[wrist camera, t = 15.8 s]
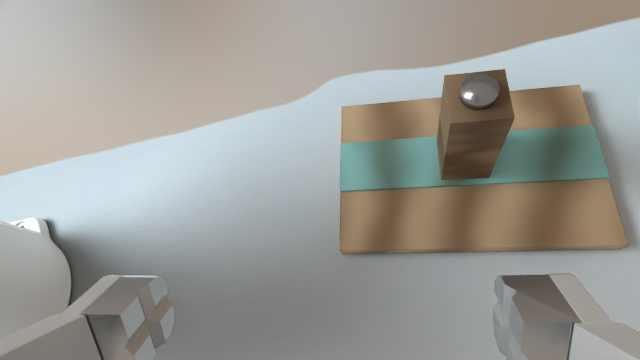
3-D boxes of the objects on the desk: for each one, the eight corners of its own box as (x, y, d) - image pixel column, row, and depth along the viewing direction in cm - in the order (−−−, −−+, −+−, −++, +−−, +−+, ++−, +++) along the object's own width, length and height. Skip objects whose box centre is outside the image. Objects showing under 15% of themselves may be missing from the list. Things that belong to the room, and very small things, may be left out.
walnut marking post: (440, 180, 34) (451, 116, 25) (436, 140, 36) (445, 68, 27) (489, 177, 33) (517, 110, 25) (482, 137, 35) (507, 61, 26)
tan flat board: (341, 253, 35) (339, 249, 33) (343, 113, 41) (341, 105, 40) (620, 249, 30) (630, 243, 29) (574, 92, 37) (581, 82, 35)
